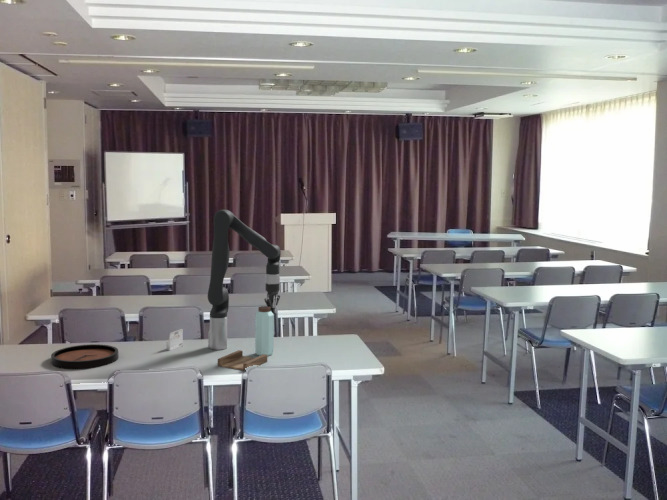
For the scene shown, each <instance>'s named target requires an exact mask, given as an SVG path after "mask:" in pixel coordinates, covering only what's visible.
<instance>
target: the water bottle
mask: <svg viewBox="0 0 667 500" xmlns="http://www.w3.org/2000/svg"><path fill="white" fill-rule="evenodd" d="M257 309H258V310H257V311H256V313H255V319H254V320H255V325H254V326H255V329H254V330H255V337H254V339H255V340H254V341H255V343H254V345H255V346H254V347H255V348H254V349H255V351H254V352H255V354H256V355H257V356H261V355H263V354H265V355H267V357H269V356H271V355H273V354H274V342H275V341H274V335H275V334H274V332H275V329H274V326H275V320H274V319H275V317H274V316H275V314H273V313H272V312H271V307H268V306H267V305H266V306H265V305H264V306H263V305H262V306H258V308H257Z"/></svg>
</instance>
